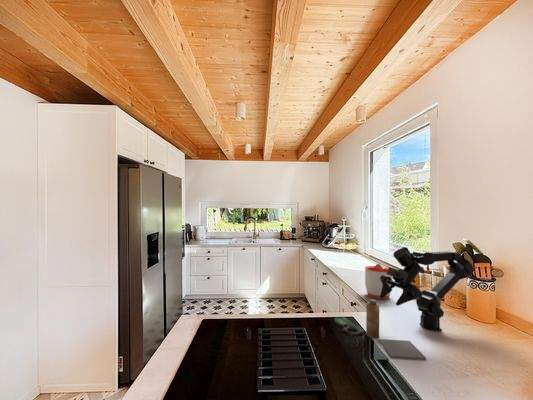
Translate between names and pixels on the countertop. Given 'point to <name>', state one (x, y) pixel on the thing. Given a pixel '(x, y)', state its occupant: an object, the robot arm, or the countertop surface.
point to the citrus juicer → (375, 280)
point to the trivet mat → (401, 349)
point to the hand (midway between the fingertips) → (388, 301)
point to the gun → (348, 326)
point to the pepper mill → (372, 319)
